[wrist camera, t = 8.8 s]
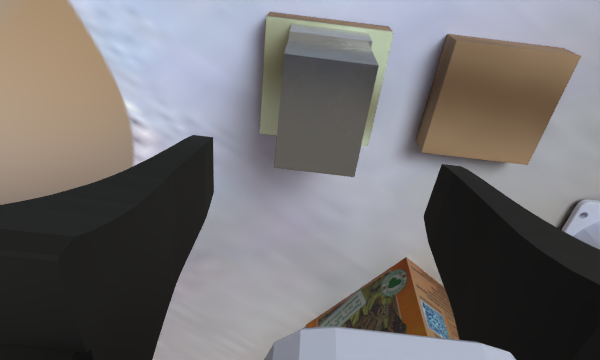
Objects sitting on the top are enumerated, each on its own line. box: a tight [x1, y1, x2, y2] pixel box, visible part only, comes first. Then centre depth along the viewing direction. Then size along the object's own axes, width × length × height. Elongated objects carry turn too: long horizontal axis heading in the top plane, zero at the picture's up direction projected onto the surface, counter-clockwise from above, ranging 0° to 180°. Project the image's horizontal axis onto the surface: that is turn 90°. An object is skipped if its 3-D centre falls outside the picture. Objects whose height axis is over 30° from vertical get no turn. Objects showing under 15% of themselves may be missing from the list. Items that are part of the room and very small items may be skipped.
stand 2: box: [416, 34, 581, 165], centre depth 21 cm, size 6×6×2 cm
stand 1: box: [260, 12, 393, 146], centre depth 20 cm, size 6×6×2 cm
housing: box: [274, 23, 379, 177], centre depth 18 cm, size 6×4×4 cm, turn 174°
